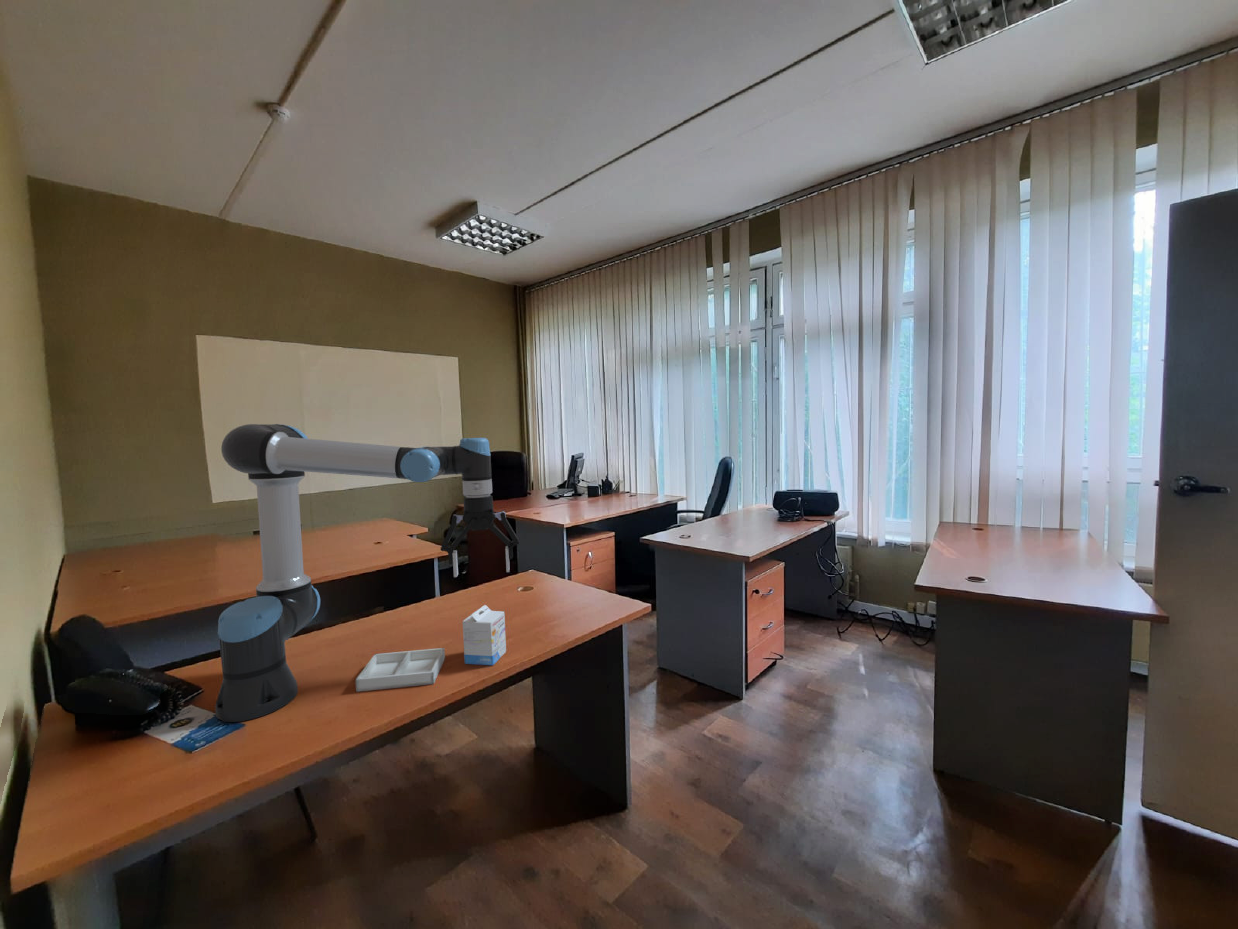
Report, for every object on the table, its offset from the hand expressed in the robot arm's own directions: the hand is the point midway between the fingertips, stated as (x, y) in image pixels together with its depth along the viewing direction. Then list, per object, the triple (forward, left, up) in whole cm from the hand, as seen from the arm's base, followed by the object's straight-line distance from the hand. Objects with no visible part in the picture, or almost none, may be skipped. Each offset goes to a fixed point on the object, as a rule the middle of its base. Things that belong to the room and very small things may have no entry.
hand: (482, 573), depth 128 cm
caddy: (-20, -5, -23) cm, 31 cm away
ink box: (0, 0, -24) cm, 24 cm away
